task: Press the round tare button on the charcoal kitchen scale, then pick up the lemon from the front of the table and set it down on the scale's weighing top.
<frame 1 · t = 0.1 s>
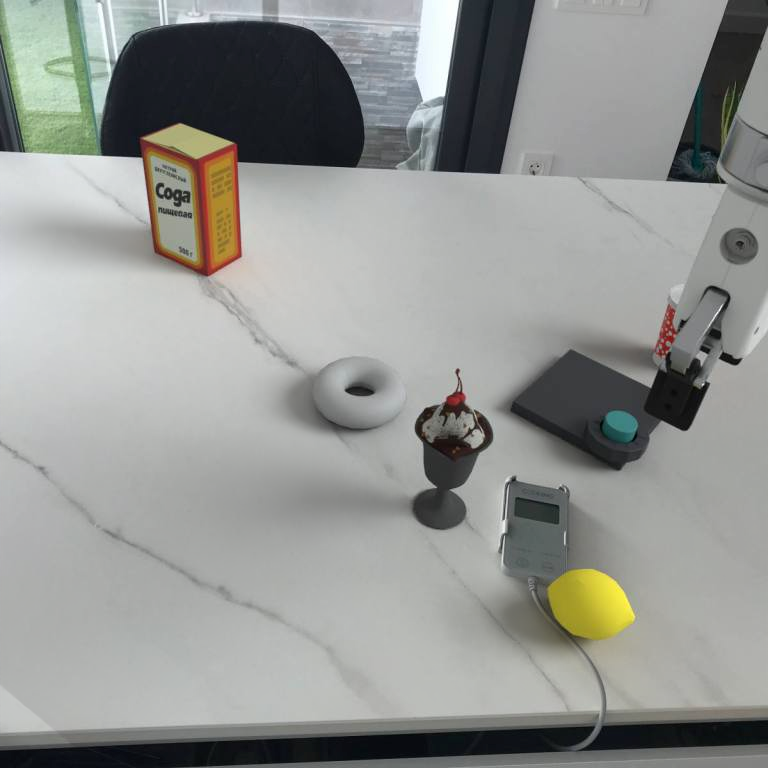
hand: (693, 386, 55), 21 cm above the table, tool pointing down, fingers open, 9 cm apart
baking soda box: (198, 255, 103), on the table
scale: (591, 409, 85), on the table
donut: (358, 405, 83), on the table
sundae: (439, 509, 72), on the table
beverage cup: (671, 362, 93), on the table
tare button: (619, 426, 78), point 3 cm above the table, slide at 0.1 cm
lemon: (581, 624, 64), on the table
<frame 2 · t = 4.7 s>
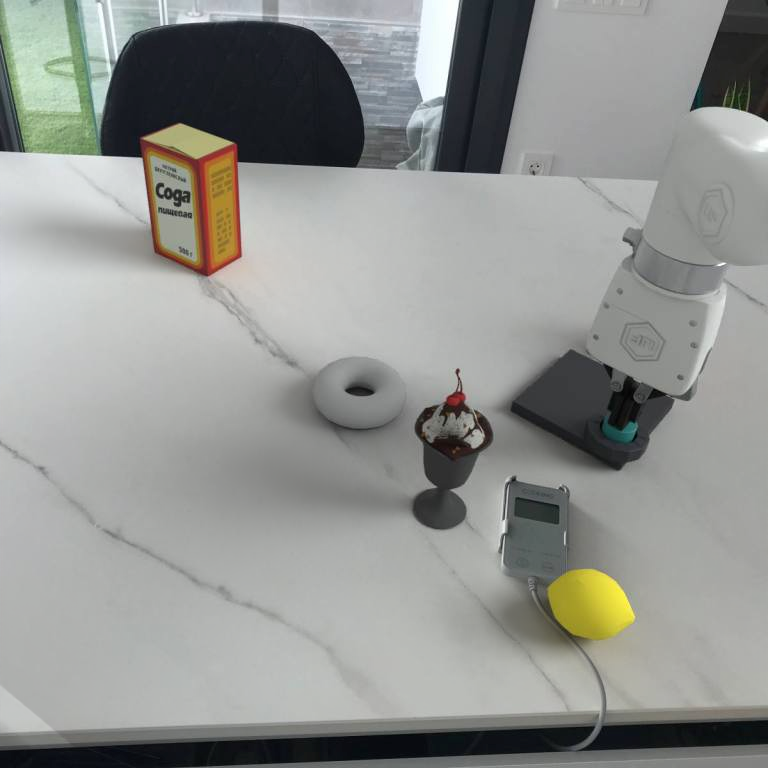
hand: (620, 420, 77), 4 cm above the table, tool pointing down, fingers closed
tare button: (619, 427, 78), point 3 cm above the table, slide at 0.1 cm, touching gripper
everything else where it was.
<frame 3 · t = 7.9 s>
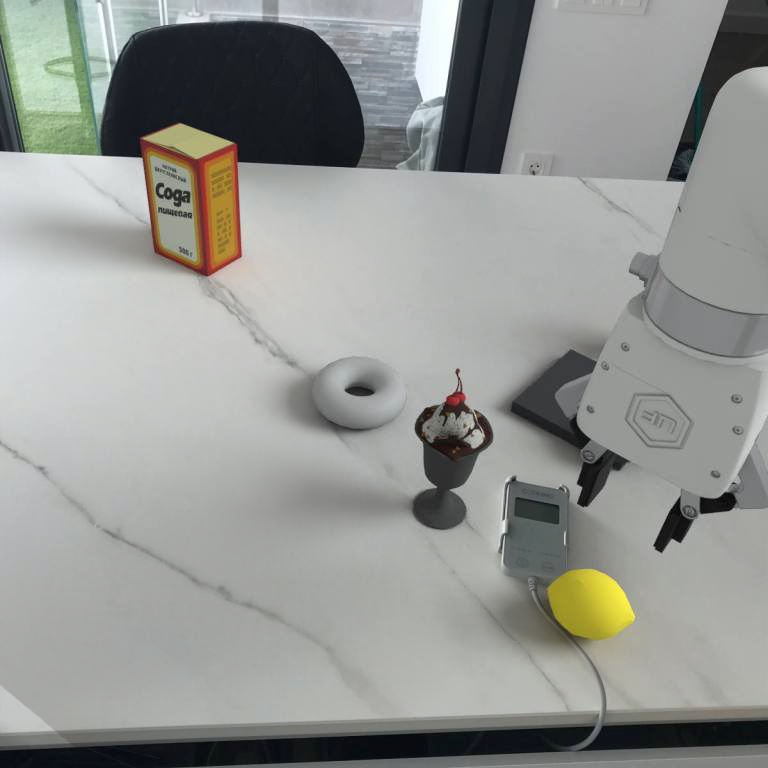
hand: (627, 515, 55), 13 cm above the table, tool pointing down, fingers open, 5 cm apart
tare button: (619, 426, 78), point 3 cm above the table, slide at 0.1 cm
everything else where it was.
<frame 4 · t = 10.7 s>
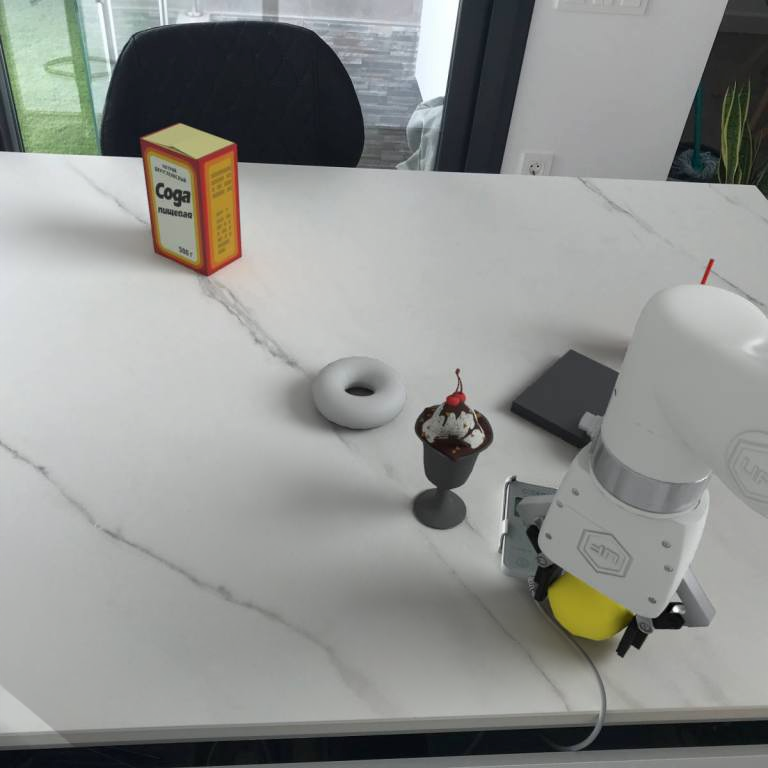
hand: (585, 615, 63), 1 cm above the table, tool pointing down, fingers closed on lemon, 6 cm apart
lemon: (581, 624, 64), on the table, touching gripper
everything else where it was.
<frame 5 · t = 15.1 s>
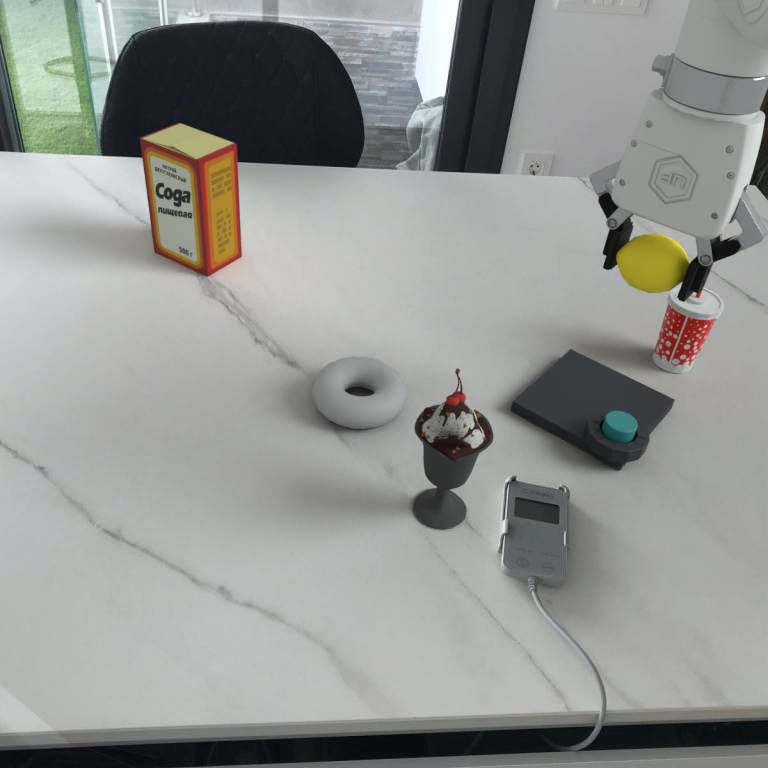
hand: (649, 278, 72), 18 cm above the table, tool pointing down, fingers closed on lemon, 6 cm apart
lemon: (644, 290, 73), point 16 cm above the table, touching gripper
everything else where it was.
when the fingers open (3 cm above the table, at t = 19.4 s): lemon stays where it is, resting on scale.
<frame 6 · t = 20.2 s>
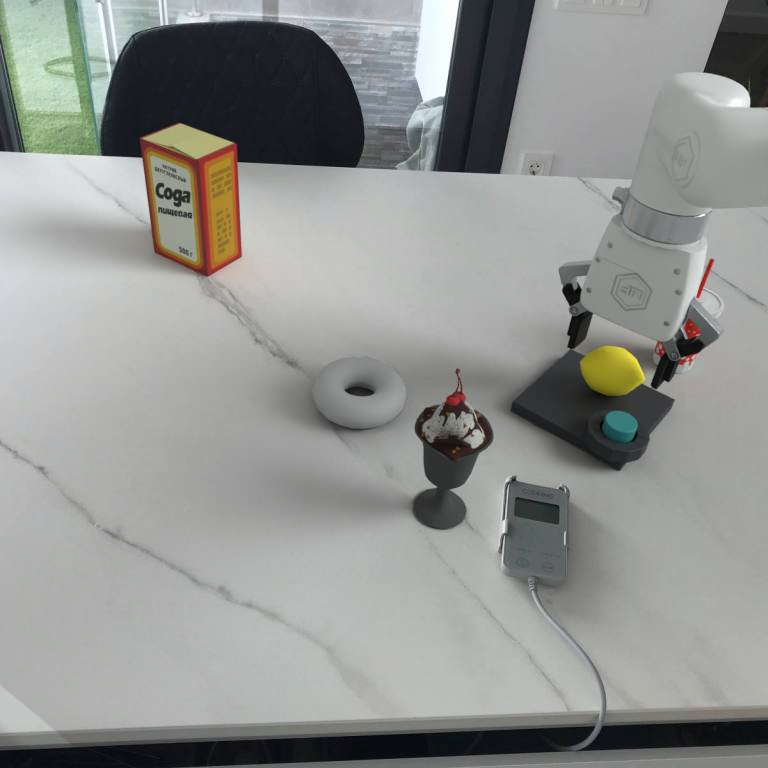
hand: (616, 362, 82), 5 cm above the table, tool pointing down, fingers open, 9 cm apart
lemon: (605, 391, 85), point 1 cm above the table, touching scale
everything else where it was.
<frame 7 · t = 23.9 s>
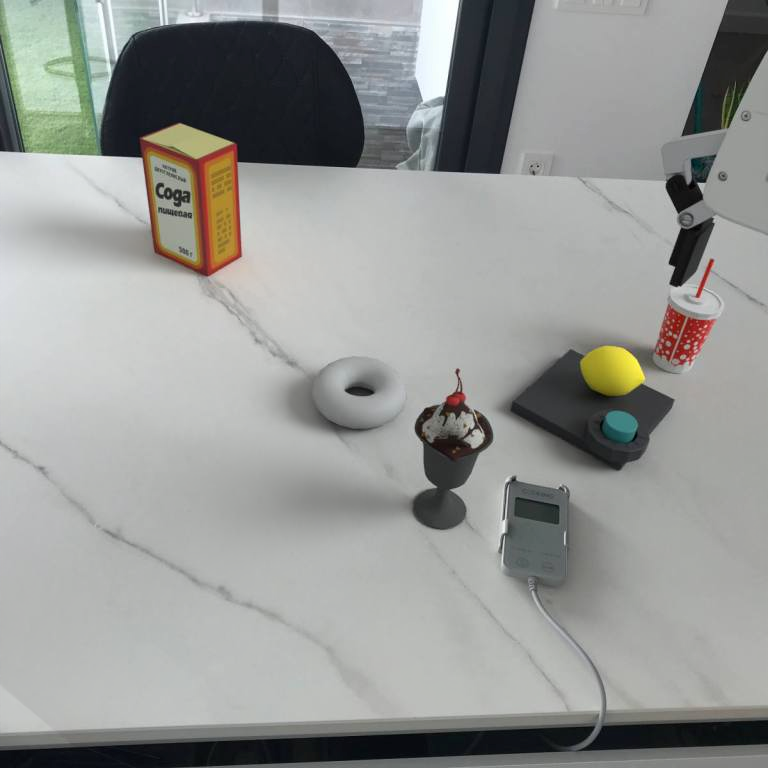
hand: (753, 308, 49), 28 cm above the table, tool pointing down, fingers open, 9 cm apart
nothing on the table moved.
at the end: tare button pushed in 0.9 cm at the most during the clip, back to where it started at the end; lemon inside the target area on the scale (0.9 cm from its centre), point 1.2 cm above the scale's base; lemon touching scale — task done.
